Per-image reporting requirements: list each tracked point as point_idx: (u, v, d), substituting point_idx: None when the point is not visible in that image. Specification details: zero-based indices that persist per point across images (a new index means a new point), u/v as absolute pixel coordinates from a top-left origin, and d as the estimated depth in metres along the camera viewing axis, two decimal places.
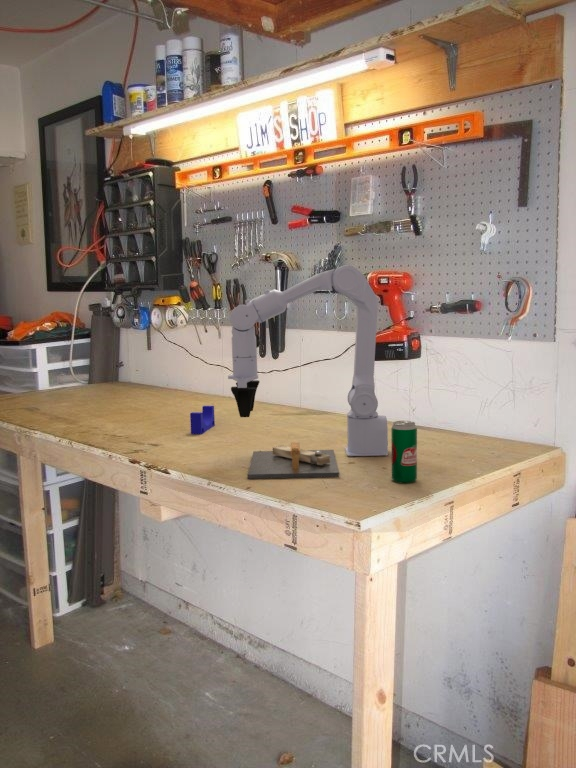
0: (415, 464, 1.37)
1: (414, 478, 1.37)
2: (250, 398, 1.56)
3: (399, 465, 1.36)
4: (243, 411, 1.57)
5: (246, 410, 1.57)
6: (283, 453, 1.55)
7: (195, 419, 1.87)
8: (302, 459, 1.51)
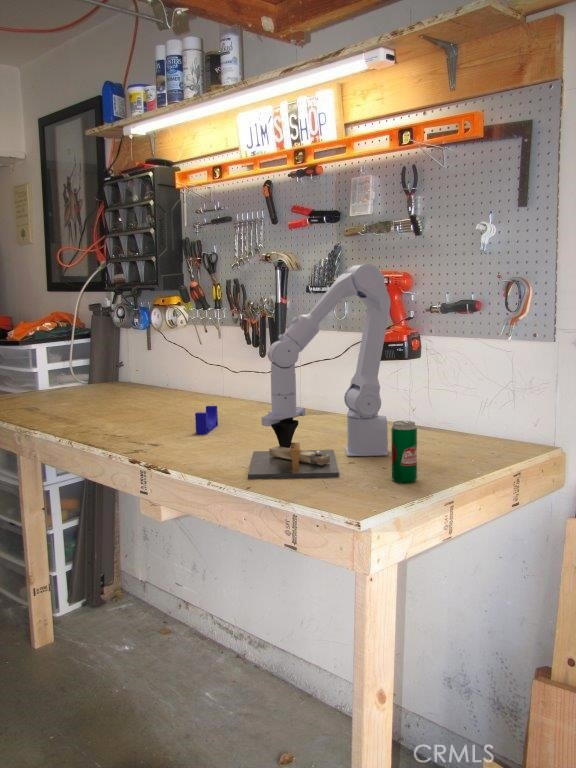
0: (415, 464, 1.37)
1: (414, 478, 1.37)
2: (286, 433, 1.56)
3: (399, 465, 1.36)
4: (283, 445, 1.58)
5: (285, 445, 1.58)
6: (280, 454, 1.54)
7: (200, 419, 1.87)
8: (302, 459, 1.51)
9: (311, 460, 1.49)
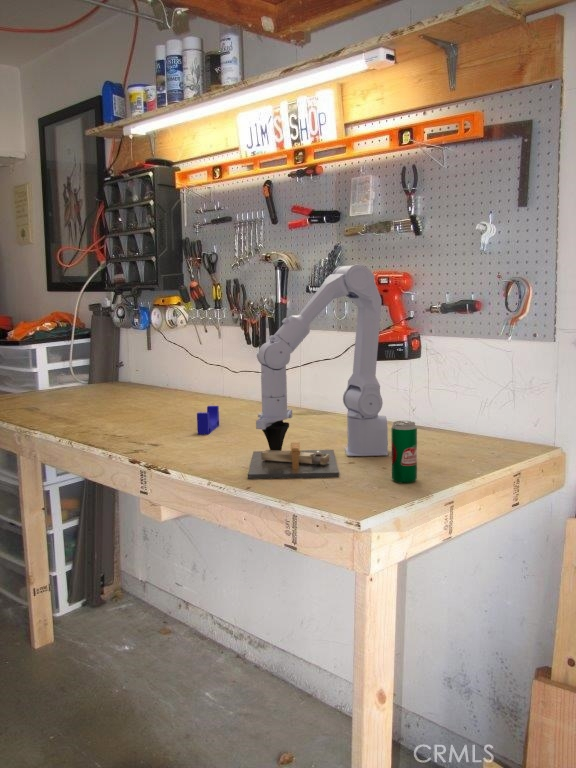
0: (415, 464, 1.37)
1: (414, 478, 1.37)
2: (278, 436, 1.53)
3: (399, 465, 1.36)
4: (273, 449, 1.55)
5: (276, 448, 1.55)
6: (275, 457, 1.52)
7: (201, 419, 1.87)
8: (301, 461, 1.49)
9: (313, 460, 1.48)
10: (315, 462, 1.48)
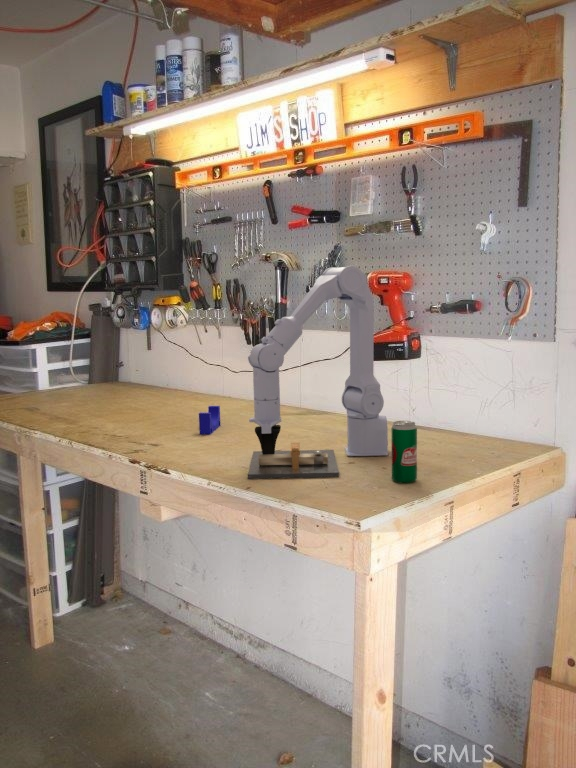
0: (415, 464, 1.37)
1: (414, 478, 1.37)
2: (275, 440, 1.50)
3: (399, 465, 1.36)
4: (267, 453, 1.51)
5: (270, 452, 1.51)
6: (274, 461, 1.48)
7: (203, 419, 1.87)
8: (302, 462, 1.48)
9: (315, 461, 1.48)
10: (318, 462, 1.48)
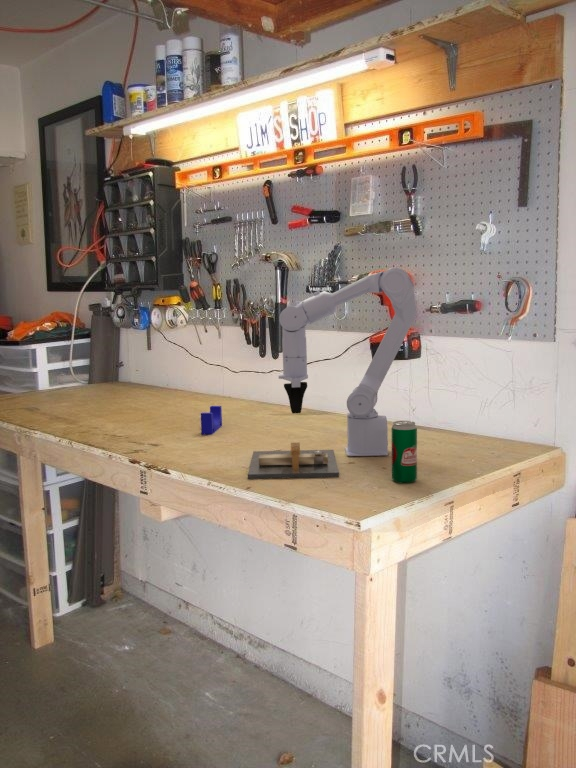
0: (415, 464, 1.37)
1: (414, 478, 1.37)
2: (302, 395, 1.62)
3: (399, 465, 1.36)
4: (295, 408, 1.64)
5: (298, 406, 1.64)
6: (274, 461, 1.48)
7: (205, 419, 1.86)
8: (302, 462, 1.48)
9: (315, 461, 1.48)
10: (318, 462, 1.48)
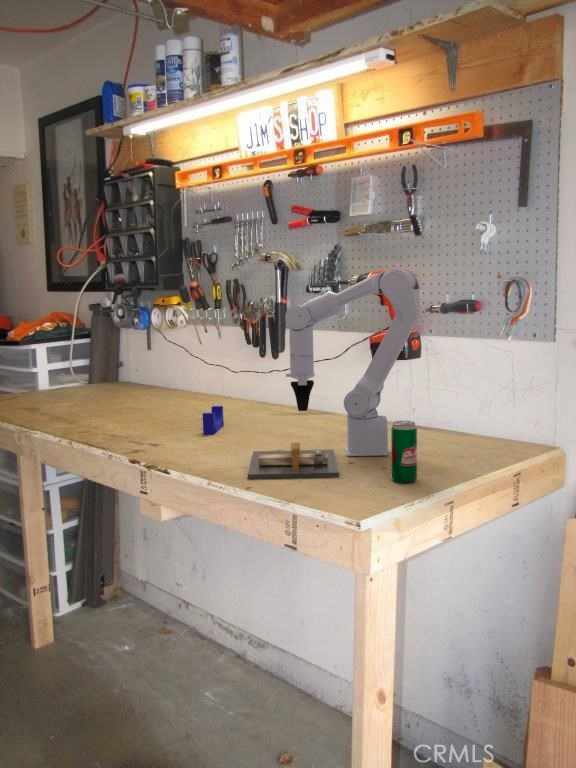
0: (415, 464, 1.37)
1: (414, 478, 1.37)
2: (309, 393, 1.65)
3: (399, 465, 1.36)
4: (302, 405, 1.66)
5: (304, 404, 1.66)
6: (274, 461, 1.48)
7: (207, 420, 1.86)
8: (302, 462, 1.48)
9: (315, 461, 1.48)
10: (318, 462, 1.48)
